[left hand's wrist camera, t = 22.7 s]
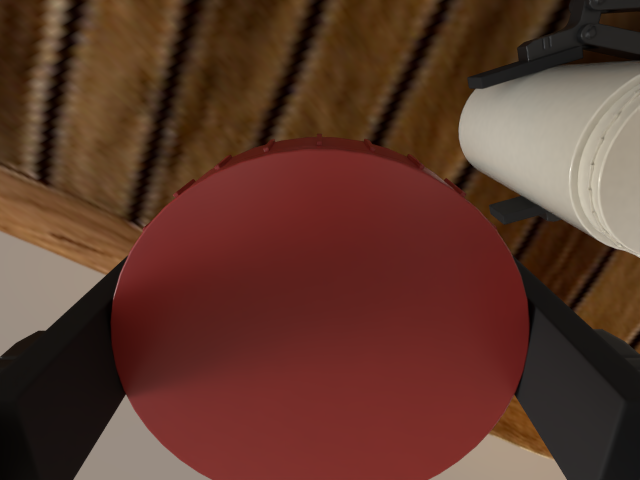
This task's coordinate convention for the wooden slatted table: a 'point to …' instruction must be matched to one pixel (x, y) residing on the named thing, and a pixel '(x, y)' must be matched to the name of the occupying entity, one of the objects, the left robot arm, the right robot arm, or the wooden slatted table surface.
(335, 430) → the lid
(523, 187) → the jar
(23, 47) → the wooden slatted table surface
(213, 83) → the wooden slatted table surface
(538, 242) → the wooden slatted table surface
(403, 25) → the wooden slatted table surface
